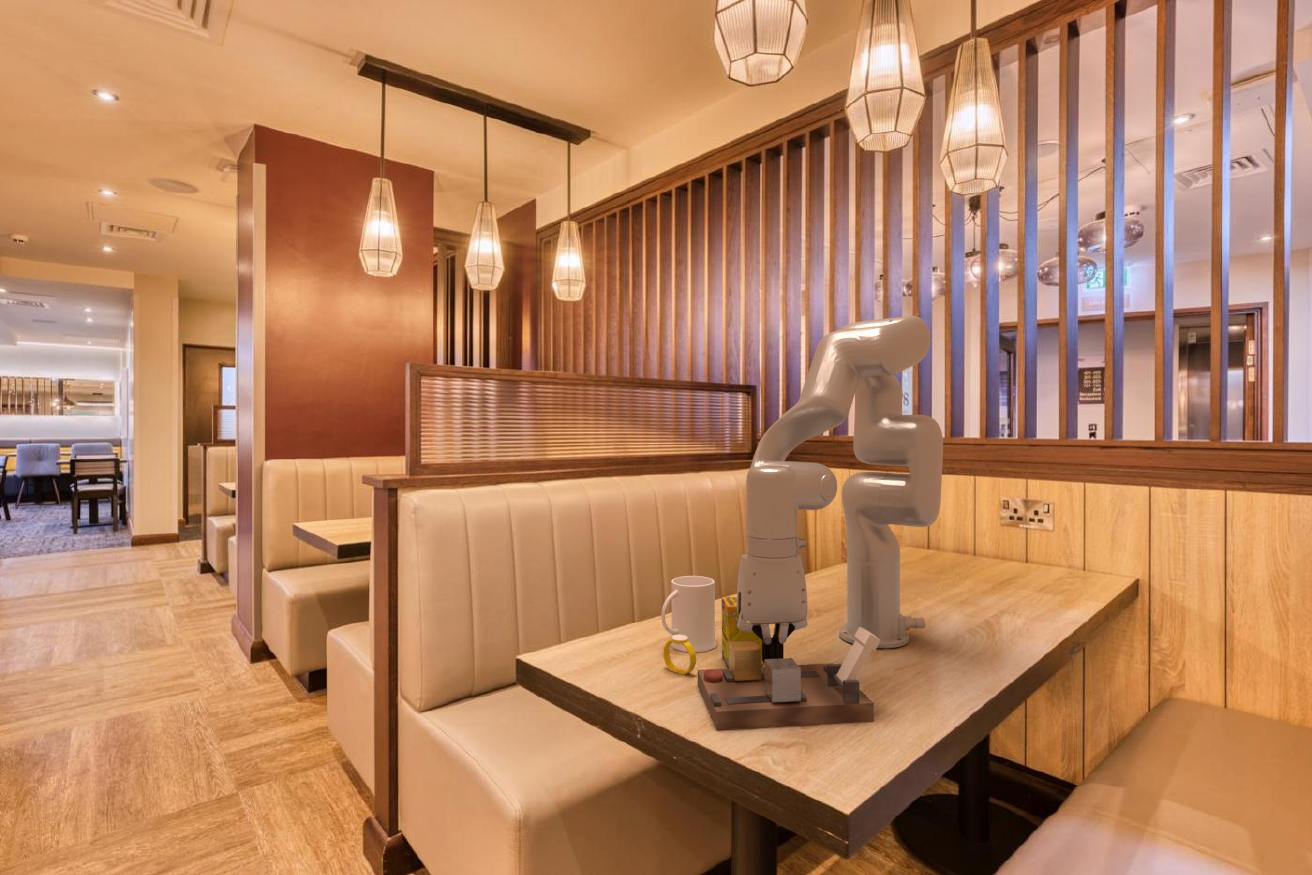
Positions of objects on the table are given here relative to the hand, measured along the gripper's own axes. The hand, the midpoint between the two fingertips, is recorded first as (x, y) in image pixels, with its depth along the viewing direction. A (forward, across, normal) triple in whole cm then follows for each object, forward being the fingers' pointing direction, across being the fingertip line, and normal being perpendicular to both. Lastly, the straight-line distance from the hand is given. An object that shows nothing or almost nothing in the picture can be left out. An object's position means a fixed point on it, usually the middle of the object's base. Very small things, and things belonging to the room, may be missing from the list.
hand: (772, 666), depth 100 cm
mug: (+4, +10, -22) cm, 25 cm away
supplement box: (+4, +2, -12) cm, 13 cm away
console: (+4, 0, +3) cm, 5 cm away
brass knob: (+1, +4, 0) cm, 5 cm away
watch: (+4, +13, -10) cm, 17 cm away
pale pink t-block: (0, -8, +8) cm, 11 cm away
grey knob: (+1, +1, +8) cm, 8 cm away
